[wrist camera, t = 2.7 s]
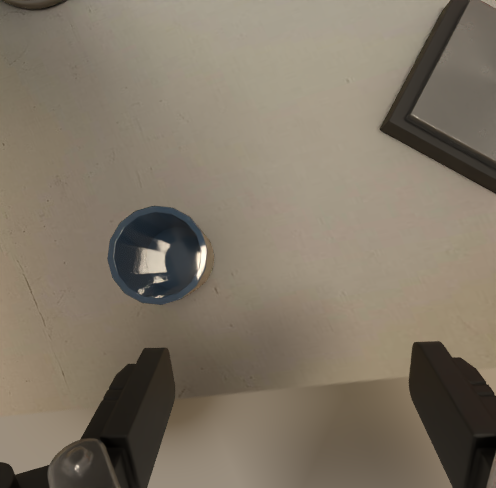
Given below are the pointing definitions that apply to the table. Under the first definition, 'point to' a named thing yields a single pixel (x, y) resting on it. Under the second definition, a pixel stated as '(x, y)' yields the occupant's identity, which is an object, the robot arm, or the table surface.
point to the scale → (453, 94)
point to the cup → (159, 255)
